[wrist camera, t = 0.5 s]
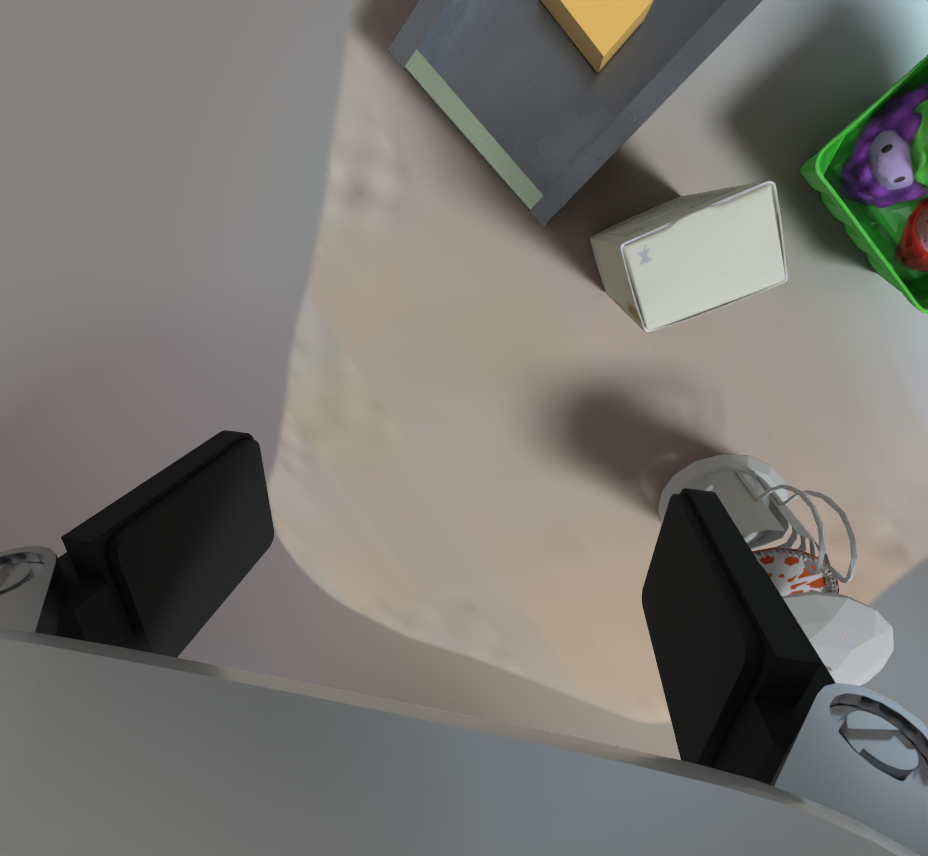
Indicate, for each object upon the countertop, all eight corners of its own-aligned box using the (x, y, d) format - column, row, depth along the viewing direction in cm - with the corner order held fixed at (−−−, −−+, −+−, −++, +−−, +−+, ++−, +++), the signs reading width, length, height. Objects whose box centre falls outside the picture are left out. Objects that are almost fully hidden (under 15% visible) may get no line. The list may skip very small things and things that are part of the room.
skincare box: (606, 296, 32) (637, 339, 21) (587, 235, 30) (610, 246, 19) (703, 259, 30) (794, 284, 19) (688, 191, 28) (777, 175, 17)
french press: (640, 536, 40) (761, 949, 17) (694, 420, 34) (965, 798, 12) (753, 564, 39) (1029, 1032, 17) (825, 450, 34) (1368, 909, 11)
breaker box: (589, -188, 22) (599, -277, 18) (737, 25, 25) (774, -12, 21) (410, 73, 28) (387, 49, 24) (543, 225, 30) (543, 226, 26)
